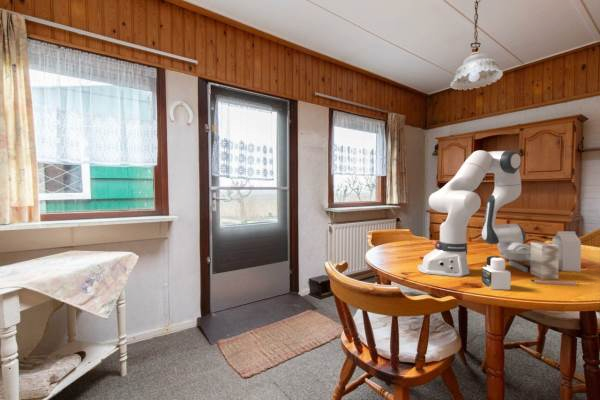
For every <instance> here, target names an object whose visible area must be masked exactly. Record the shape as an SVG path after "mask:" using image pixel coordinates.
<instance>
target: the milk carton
mask: <svg viewBox="0 0 600 400" xmlns="http://www.w3.org/2000/svg"><path fill="white" fill-rule="evenodd" d="M551 241H552V243H551V244H553V245H556V246H559V265H558V271H559V270H560V271H561V272H564V271H565V272H579V273H581V268H582V267H581V265H582V263H581V262H582V256H581V255H582V240H581V239H580V237H578V235H577V234H576V231H572V230H571V231H567V230H566V231H563V230H560V231H559V230H558V231H557V233H556V234H555V236H553V238H552V240H551Z"/></svg>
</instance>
